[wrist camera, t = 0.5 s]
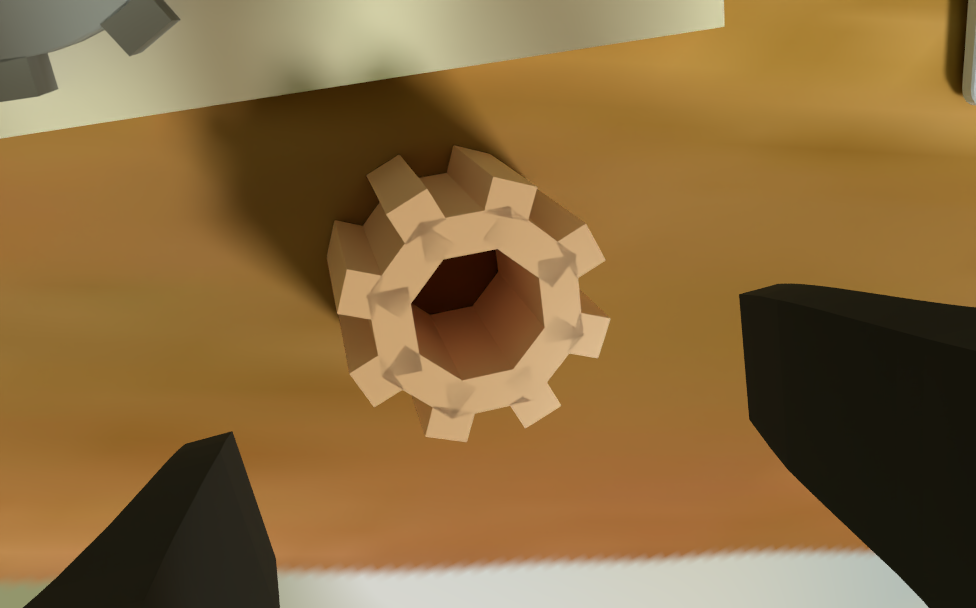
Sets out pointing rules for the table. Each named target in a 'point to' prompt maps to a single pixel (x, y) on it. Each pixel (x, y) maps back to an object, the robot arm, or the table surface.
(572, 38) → the gear board
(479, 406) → the loose gear
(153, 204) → the table surface
